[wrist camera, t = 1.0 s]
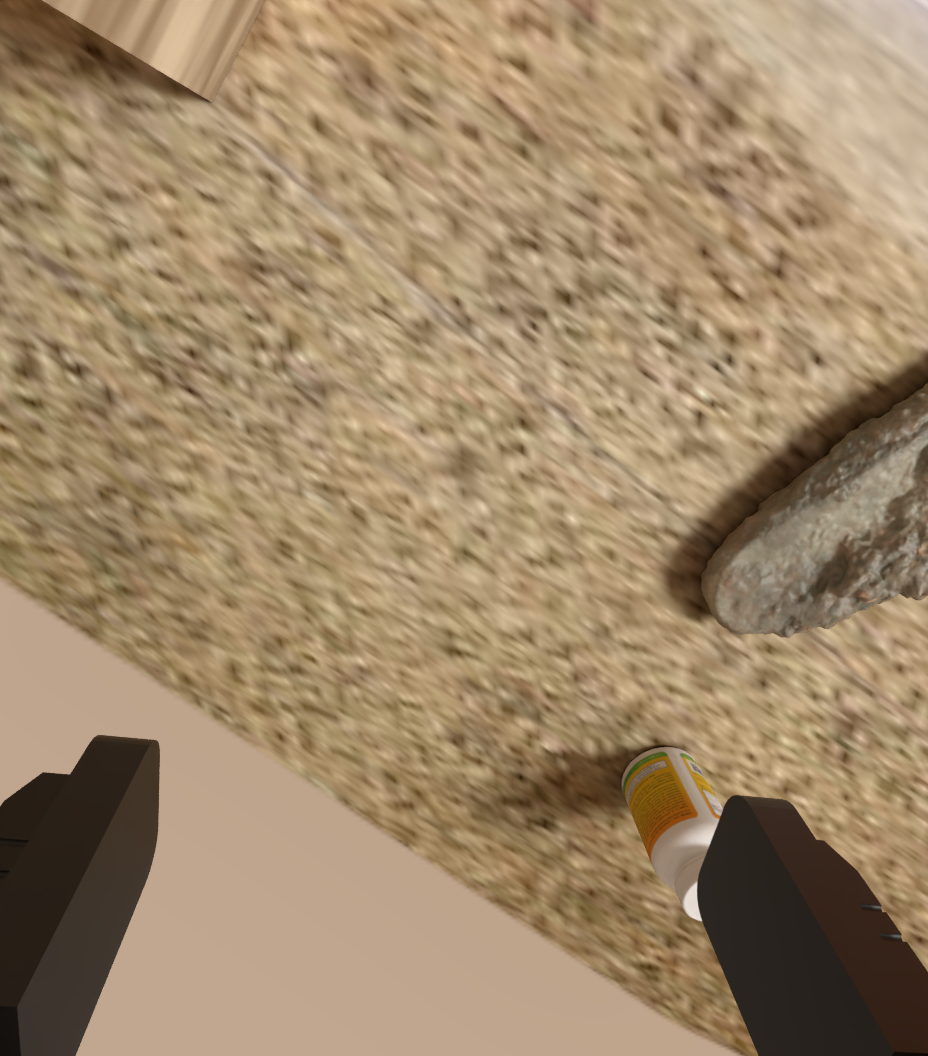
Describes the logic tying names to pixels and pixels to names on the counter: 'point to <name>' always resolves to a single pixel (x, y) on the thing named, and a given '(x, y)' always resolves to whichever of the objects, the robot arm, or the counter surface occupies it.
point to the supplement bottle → (673, 817)
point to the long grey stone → (832, 534)
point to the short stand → (172, 34)
